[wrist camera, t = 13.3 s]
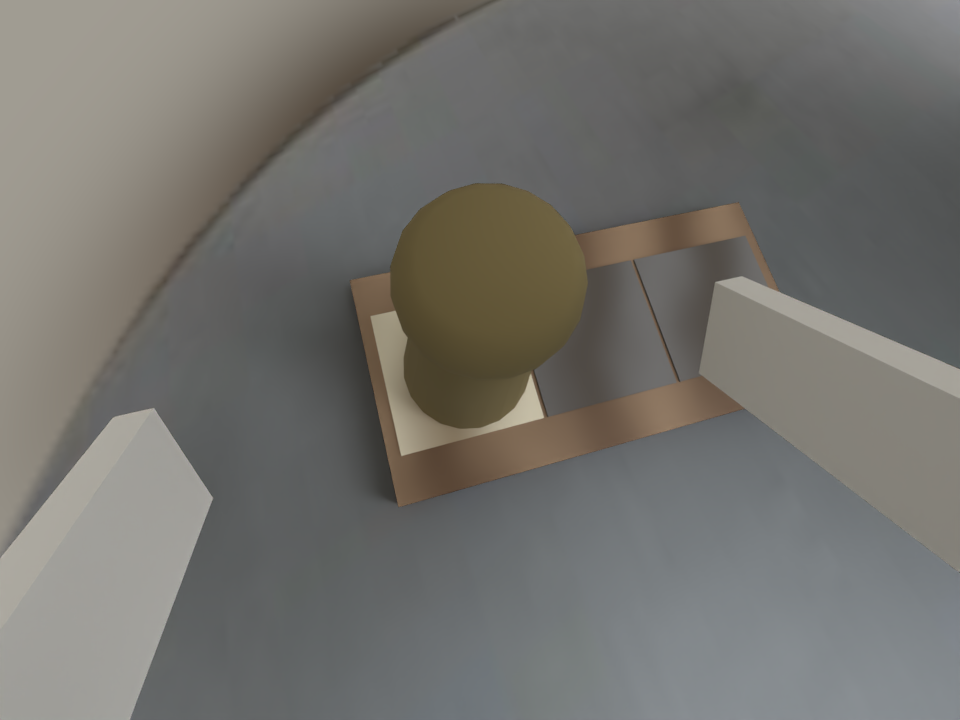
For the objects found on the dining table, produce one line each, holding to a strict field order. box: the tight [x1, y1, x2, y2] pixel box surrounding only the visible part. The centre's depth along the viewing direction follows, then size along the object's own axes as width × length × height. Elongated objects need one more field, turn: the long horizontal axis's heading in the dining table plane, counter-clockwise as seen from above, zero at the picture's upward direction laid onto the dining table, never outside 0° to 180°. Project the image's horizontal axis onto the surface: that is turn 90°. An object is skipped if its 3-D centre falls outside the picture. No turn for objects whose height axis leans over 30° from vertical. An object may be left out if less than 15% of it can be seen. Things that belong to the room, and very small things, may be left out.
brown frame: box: [350, 202, 779, 507], centre depth 22 cm, size 22×11×1 cm, turn 105°
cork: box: [390, 183, 588, 429], centre depth 15 cm, size 6×6×11 cm
